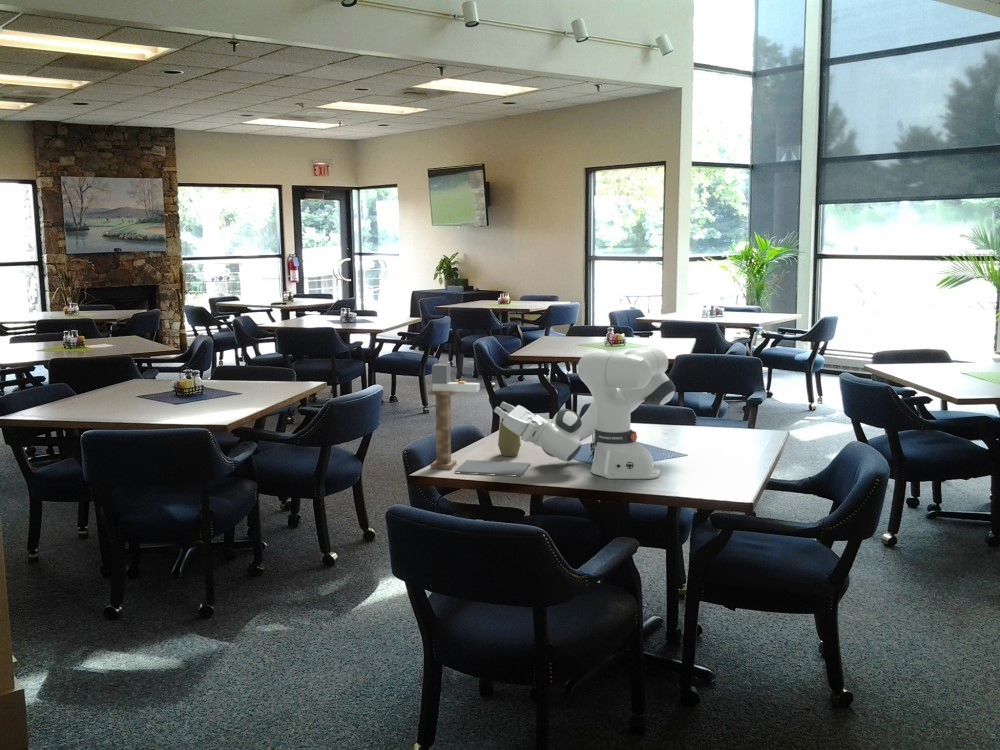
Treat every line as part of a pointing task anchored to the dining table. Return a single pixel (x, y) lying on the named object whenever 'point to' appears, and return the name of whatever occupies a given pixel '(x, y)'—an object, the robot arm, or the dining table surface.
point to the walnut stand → (443, 430)
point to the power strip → (457, 387)
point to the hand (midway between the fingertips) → (498, 406)
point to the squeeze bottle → (508, 441)
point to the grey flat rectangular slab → (493, 467)
